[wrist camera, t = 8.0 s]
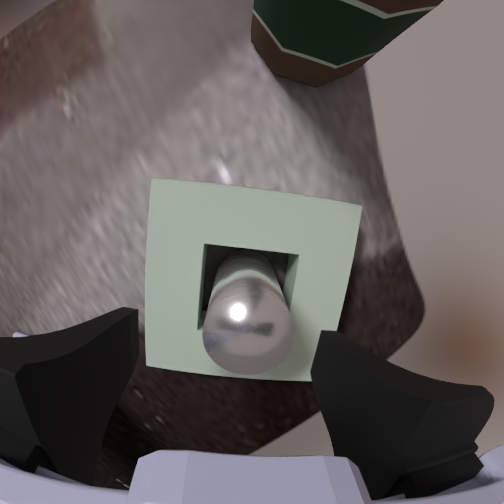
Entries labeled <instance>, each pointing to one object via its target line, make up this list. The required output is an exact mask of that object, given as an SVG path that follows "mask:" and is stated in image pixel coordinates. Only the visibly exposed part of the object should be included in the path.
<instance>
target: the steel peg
mask: <svg viewBox="0 0 504 504" xmlns="http://www.w3.org/2000/svg"><path fill="white" fill-rule="evenodd" d="M202 339H203V344H204V347H205V350H206V352H207V354H208V355H209V357H210V358H211V359H212V360H213V361H214V362H215V363H216V364H217V365H218V366H220V367H221V368H223V369H225V370H227V371H230V372H232V373H236V374H242V375H254V374H260V373H264V372H267V371H269V370H271V369H273V368H275V367H277V366H278V365H279V364H281V363H282V362H283V361H284V360H285V359H286V357H287V356H288V355H289V353H290V352H291V350H292V347H293V345H294V341H295V328H294V324H293V321H292V318H291V315H290V313H289V310H288V307H287V305H286V302H285V299H284V297H283V294H282V291H281V288H280V286H279V283H278V280H277V278H276V275H275V272H274V270H273V267H272V265H271V264H270V262H269V261H268V260H267V259H266V258H265V257H264V256H262V255H261V254H258V253H256V252H253V251H238V252H235V253H232V254H230V255H229V256H227V257H226V258H225V259H224V260H223V261H222V262H221V263H220V265H219V267H218V269H217V272H216V276H215V280H214V284H213V288H212V292H211V297H210V301H209V305H208V309H207V313H206V318H205V322H204V326H203V332H202Z"/></svg>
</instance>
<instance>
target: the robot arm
mask: <svg viewBox="0 0 504 504" xmlns="http://www.w3.org/2000/svg"><path fill="white" fill-rule="evenodd" d="M138 356H139V331H138V309H132V308H127V307H122V308H119V309H116V310H113V311H111V312H108V313H106V314H104V315H101V316H99V317H97V318H94V319H92V320H89V321H87V322H84V323H81V324H78V325H76V326H73V327H70V328H67V329H63V330H59V331H55V332H51V333H46V334H40V335H33V336H27V335H24V334H21V333H18V332H15V333H14V334H13V337H0V504H504V445H500V446H498V447H496V448H494V449H492V450H489V451H487V452H485V453H484V454H482V455H481V456H480V457H479V458H478V457H477V455H476V454H475V453H474V452H476V451H477V449H478V446H477V444H476V443H475V442H474V441H475V439H476V438H477V436H478V435H479V433H480V432H481V430H482V429H483V427H484V426H485V424H486V423H487V421H488V419H489V417H490V415H491V413H492V410H493V407H494V398H493V395H492V394H491V393H490V392H488V391H487V389H486V388H484V387H482V386H475V385H465V384H455V383H451V382H445V381H440V380H436V379H432V378H429V377H426V376H422V375H419V374H416V373H413V372H411V371H408V370H406V369H404V368H401V367H399V366H396V365H394V364H392V363H390V362H388V361H387V360H385V359H383V358H381V357H379V356H377V355H376V354H374V353H372V352H371V351H369V350H367V349H366V348H364V347H362V346H361V345H359V344H358V343H356V342H355V341H353V340H351V339H350V338H348V337H346V336H345V335H343V334H341V333H339V332H337V331H330V330H321V333H320V337H319V341H318V345H317V348H316V352H315V356H314V360H313V363H312V367H311V370H310V374H311V380H312V385H313V390H314V393H315V396H316V399H317V402H318V405H319V407H320V410H321V413H322V415H323V418H324V421H325V423H326V426H327V429H328V432H329V435H330V438H331V442H332V446H333V450H334V456H326V455H307V456H251V455H233V454H220V453H210V452H201V451H193V450H158V451H156V452H153V453H151V454H148V455H146V456H143V457H141V458H139V459H138V462H137V465H136V468H135V471H134V475H133V479H132V482H131V486H130V489H129V491H128V490H117V489H109V488H101V487H94V486H92V482H93V477H94V472H95V468H96V463H97V459H98V455H99V452H100V448H101V445H102V441H103V438H104V435H105V432H106V428H107V425H108V422H109V420H110V417H111V415H112V413H113V410H114V408H115V406H116V405H117V403H118V401H119V399H120V397H121V395H122V393H123V391H124V389H125V387H126V385H127V383H128V381H129V379H130V377H131V375H132V373H133V371H134V368H135V365H136V362H137V359H138Z"/></svg>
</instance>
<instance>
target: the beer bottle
mask: <svg viewBox="0 0 504 504" xmlns="http://www.w3.org/2000/svg"><path fill="white" fill-rule="evenodd" d="M442 1H443V0H254V7H253V16H252V25H251V42H252V43H253V45H254V46H255V48H256V49H257V50H258V52H259V53H260V55H261V56H262V58H263V59H264V60H265V62H266V63H267V65H268V66H269V68H270V69H271V71H272V72H273V74H275V75H278V76H282V77H285V78H288V79H292V80H295V81H298V82H301V83H305V84H308V85H311V86H314V87H319V86H321V85H323V84H326V83H328V82H330V81H333V80H335V79H337V78H340V77H342V76H345V75H347V74H350V73H352V72H353V71H355V70H356V69H358V68H359V67H361V66H362V65H363V64H364V63H366V62H367V61H368V60H369V59H370V58H371V57H373V56H374V55H375V54H376V53H378V52H379V51H380V50H381V49H382V48H384V47H385V46H386V45H387V44H389V43H390V42H391V41H392V40H393V39H395V38H396V37H397V36H399V35H400V34H401V33H402V32H404V31H405V30H406V29H407V28H409V27H410V26H411V25H413V24H414V23H415V22H417V21H418V20H419V19H420V18H422V17H423V16H424V15H426V14H427V13H428V12H430V11H431V10H433V9H434V8H435V7H437V6H438V5H439V4H440V3H441V2H442Z"/></svg>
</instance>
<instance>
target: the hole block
mask: <svg viewBox="0 0 504 504" xmlns="http://www.w3.org/2000/svg"><path fill="white" fill-rule="evenodd" d="M361 212H362V206H361V205H357V204H353V203H348V202H343V201H337V200H331V199H325V198H319V197H313V196H307V195H300V194H294V193H287V192H280V191H273V190H265V189H258V188H250V187H242V186H233V185H225V184H216V183H206V182H196V181H186V180H175V179H157V178H152V181H151V191H150V202H149V214H148V228H147V245H146V270H145V343H146V366H152V367H158V368H164V369H170V370H177V371H184V372H192V373H199V374H208V375H217V376H227V377H238V378H250V379H266V380H287V381H312V380H311V374H310V370H311V367H312V363H313V360H314V356H315V352H316V348H317V345H318V341H319V337H320V333H321V330H330V331H337V327H338V323H339V319H340V315H341V311H342V307H343V303H344V298H345V294H346V290H347V285H348V281H349V276H350V271H351V267H352V262H353V257H354V252H355V247H356V241H357V236H358V230H359V224H360V219H361ZM208 244H213V245H222V246H230V247H239V248H248V249H256V250H265V251H274V252H282V253H289V258H288V264H287V270H286V276H285V282H284V288H283V297H284V299H285V302H286V305H287V307H288V310H289V313H290V315H291V318H292V321H293V324H294V328H295V341H294V345H293V347H292V350H291V352H290V353H289V355H288V356H287V357H286V359H285V360H284V361H283V362H282V363H281V364H279V365H278V366H277V367H275V368H273V369H271V370H269V371H267V372H264V373H260V374H254V375H242V374H236V373H232V372H230V371H227V370H225V369H223V368H221V367H220V366H218V365H217V364H216V363H215V362H214V361H213V360H212V359H211V358H210V357H209V355H208V354H207V352H206V350H205V347H204V344H203V339H202V332H203V326H204V322H205V318H206V313H207V311H203V310H202V303H203V291H204V279H205V268H206V257H207V247H208Z"/></svg>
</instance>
